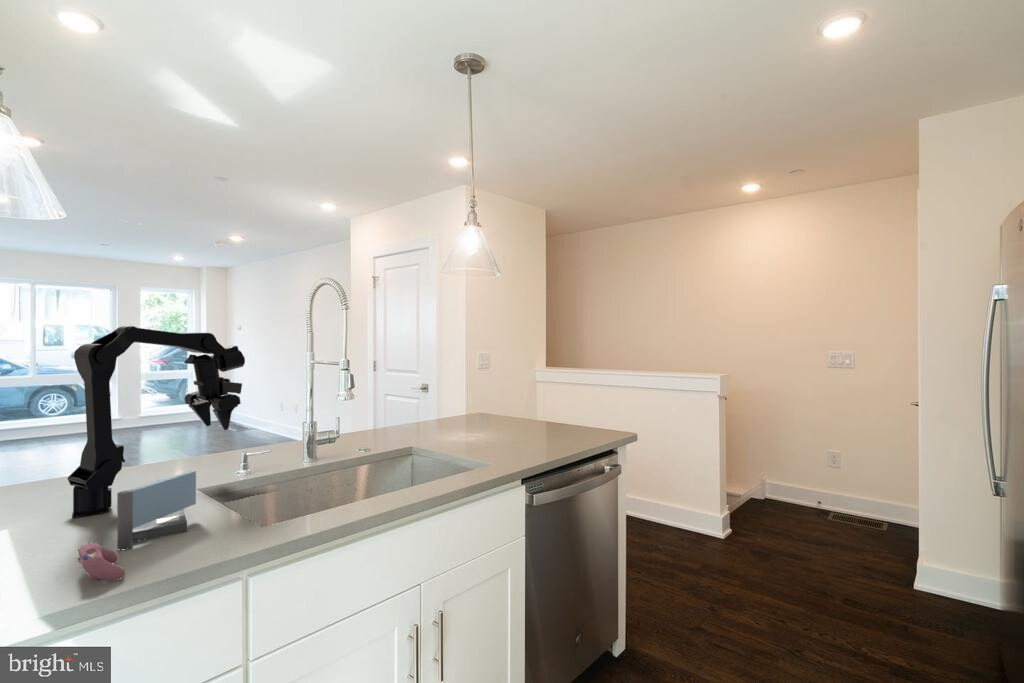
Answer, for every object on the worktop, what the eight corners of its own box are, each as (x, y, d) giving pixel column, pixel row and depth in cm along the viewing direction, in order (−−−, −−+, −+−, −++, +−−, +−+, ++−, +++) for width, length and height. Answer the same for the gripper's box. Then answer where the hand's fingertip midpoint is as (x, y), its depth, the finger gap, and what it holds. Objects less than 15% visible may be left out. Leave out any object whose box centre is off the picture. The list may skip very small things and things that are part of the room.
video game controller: (91, 575, 90) (68, 546, 88) (120, 557, 93) (98, 528, 91) (97, 596, 83) (72, 565, 81) (128, 576, 86) (105, 545, 84)
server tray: (121, 544, 100) (122, 533, 100) (123, 517, 114) (123, 508, 114) (187, 531, 107) (187, 521, 107) (180, 507, 121) (180, 498, 121)
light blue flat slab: (123, 550, 97) (124, 494, 97) (114, 549, 98) (114, 493, 98) (197, 519, 114) (197, 471, 114) (188, 518, 114) (188, 470, 114)
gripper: (253, 371, 144) (262, 422, 147) (217, 367, 154) (226, 415, 157) (214, 381, 135) (225, 435, 138) (179, 376, 145) (189, 427, 147)
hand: (217, 427), depth 145 cm, fingers open, 9 cm apart
